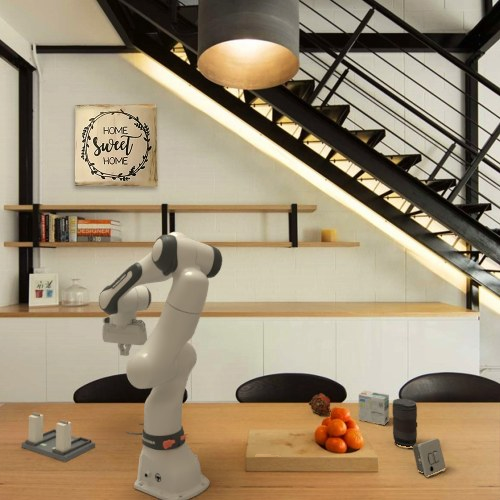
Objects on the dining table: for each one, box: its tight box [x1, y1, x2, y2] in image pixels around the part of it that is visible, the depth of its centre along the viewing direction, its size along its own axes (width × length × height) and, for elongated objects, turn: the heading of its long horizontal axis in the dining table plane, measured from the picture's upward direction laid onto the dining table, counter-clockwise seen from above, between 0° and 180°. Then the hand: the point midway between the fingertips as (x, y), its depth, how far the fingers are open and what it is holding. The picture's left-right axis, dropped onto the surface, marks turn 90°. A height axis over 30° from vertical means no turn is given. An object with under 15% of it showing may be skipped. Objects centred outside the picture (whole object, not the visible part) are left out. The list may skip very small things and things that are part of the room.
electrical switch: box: [412, 437, 447, 476], centre depth 131 cm, size 9×5×9 cm, turn 121°
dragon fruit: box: [308, 392, 331, 416], centre depth 179 cm, size 8×8×12 cm
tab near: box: [55, 419, 72, 452], centre depth 139 cm, size 4×3×10 cm
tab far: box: [27, 412, 44, 443], centre depth 145 cm, size 4×3×10 cm
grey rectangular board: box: [21, 428, 96, 463], centre depth 145 cm, size 22×12×2 cm, turn 62°
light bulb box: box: [358, 390, 390, 426], centre depth 170 cm, size 11×7×11 cm, turn 58°
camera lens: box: [391, 398, 418, 447], centre depth 149 cm, size 8×8×15 cm
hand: (124, 355), depth 161 cm, fingers closed
